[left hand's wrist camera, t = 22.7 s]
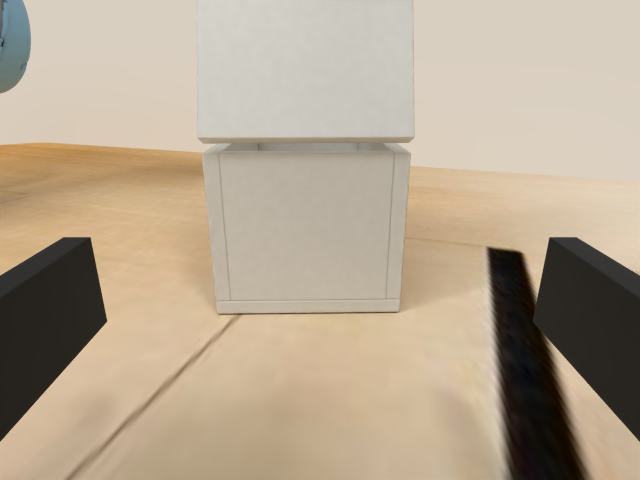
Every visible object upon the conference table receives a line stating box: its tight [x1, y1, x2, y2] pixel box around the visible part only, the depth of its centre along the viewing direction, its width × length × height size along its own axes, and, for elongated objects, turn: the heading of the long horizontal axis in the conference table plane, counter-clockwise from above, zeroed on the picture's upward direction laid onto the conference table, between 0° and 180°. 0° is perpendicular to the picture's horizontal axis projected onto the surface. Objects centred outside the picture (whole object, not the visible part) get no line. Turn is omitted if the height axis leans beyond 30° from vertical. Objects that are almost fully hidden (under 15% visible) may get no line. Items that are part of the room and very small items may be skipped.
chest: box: [202, 143, 411, 314], centre depth 30 cm, size 16×10×9 cm, turn 1°
